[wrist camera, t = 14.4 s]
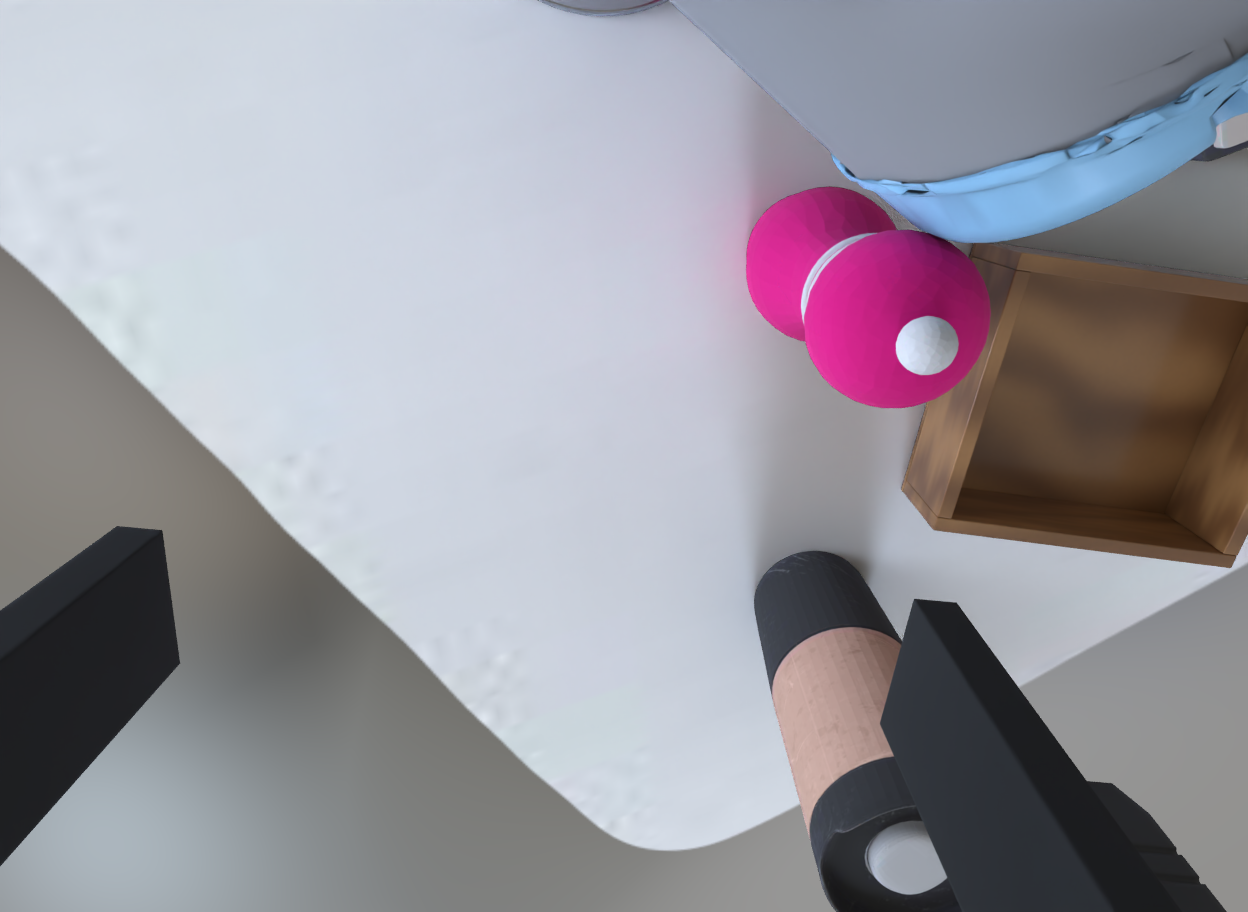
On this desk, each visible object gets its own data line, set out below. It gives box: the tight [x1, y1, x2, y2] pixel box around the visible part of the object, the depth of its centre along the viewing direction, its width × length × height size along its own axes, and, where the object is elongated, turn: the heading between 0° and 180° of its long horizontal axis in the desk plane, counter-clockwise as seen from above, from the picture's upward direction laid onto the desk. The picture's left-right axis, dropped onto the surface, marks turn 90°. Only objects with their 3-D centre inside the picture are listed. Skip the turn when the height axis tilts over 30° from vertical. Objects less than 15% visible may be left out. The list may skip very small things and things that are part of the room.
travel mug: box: [754, 551, 962, 912], centre depth 40 cm, size 8×8×20 cm
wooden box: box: [901, 243, 1248, 568], centre depth 41 cm, size 15×17×5 cm
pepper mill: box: [746, 187, 991, 408], centre depth 32 cm, size 7×7×20 cm
